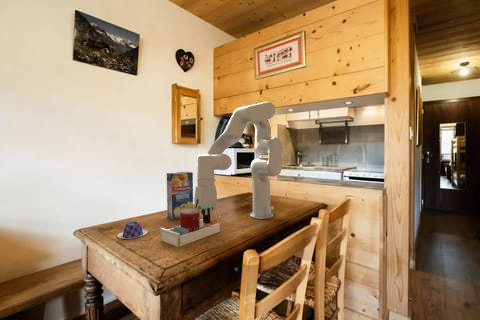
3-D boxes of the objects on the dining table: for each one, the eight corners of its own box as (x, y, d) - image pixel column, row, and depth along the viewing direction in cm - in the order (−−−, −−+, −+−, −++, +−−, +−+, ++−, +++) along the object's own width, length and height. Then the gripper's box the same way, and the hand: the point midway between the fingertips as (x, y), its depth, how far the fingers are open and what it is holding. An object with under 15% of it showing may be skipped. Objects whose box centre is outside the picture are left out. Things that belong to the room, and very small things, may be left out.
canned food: (195, 240, 97) (195, 213, 96) (177, 238, 98) (176, 212, 98) (202, 233, 104) (202, 208, 104) (185, 232, 106) (184, 207, 105)
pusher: (176, 235, 101) (175, 225, 101) (189, 240, 95) (188, 229, 95) (170, 237, 99) (170, 227, 99) (183, 242, 94) (183, 231, 93)
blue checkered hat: (146, 238, 100) (146, 226, 99) (114, 242, 96) (114, 229, 96) (148, 229, 111) (148, 218, 111) (120, 232, 108) (119, 220, 108)
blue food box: (187, 213, 138) (187, 171, 137) (193, 216, 132) (192, 172, 131) (167, 217, 131) (166, 172, 130) (172, 220, 125) (171, 173, 124)
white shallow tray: (202, 226, 114) (202, 216, 114) (219, 231, 107) (219, 220, 106) (160, 239, 97) (160, 228, 97) (178, 247, 90) (177, 234, 90)
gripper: (212, 180, 116) (212, 217, 116) (187, 183, 104) (188, 225, 105) (223, 181, 111) (224, 220, 112) (198, 185, 99) (199, 229, 100)
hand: (206, 222), depth 108 cm, fingers closed
